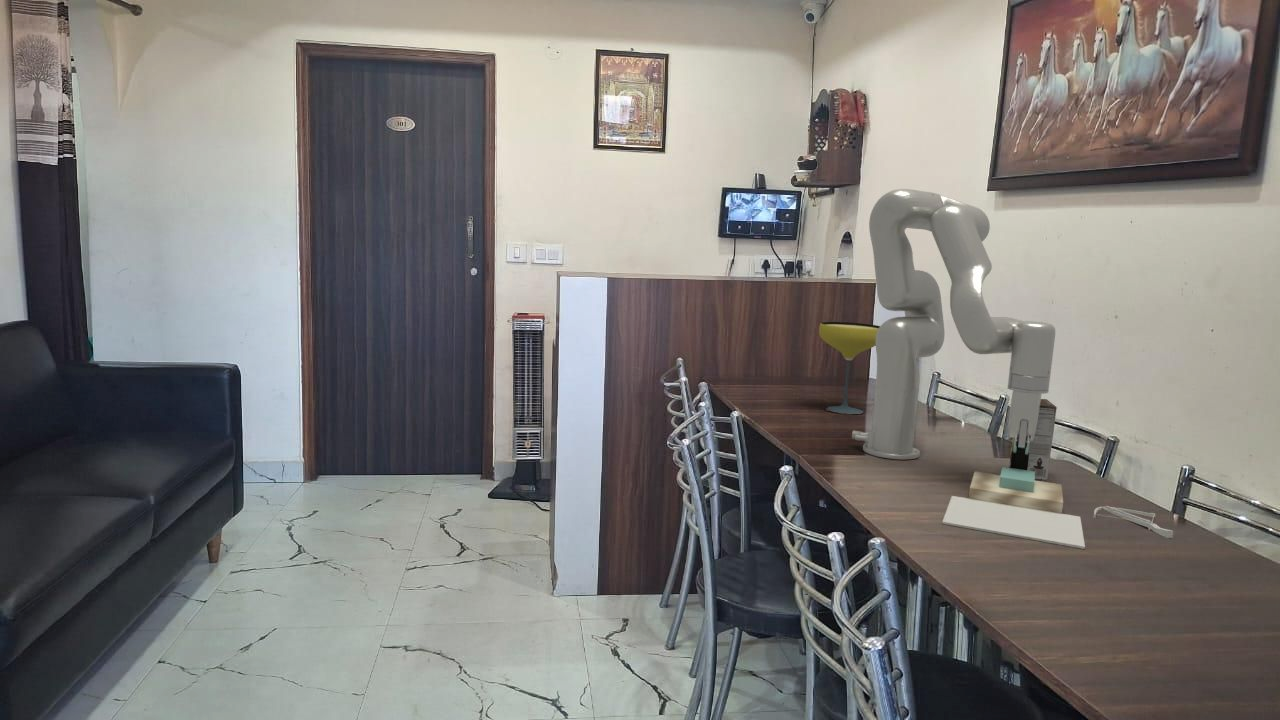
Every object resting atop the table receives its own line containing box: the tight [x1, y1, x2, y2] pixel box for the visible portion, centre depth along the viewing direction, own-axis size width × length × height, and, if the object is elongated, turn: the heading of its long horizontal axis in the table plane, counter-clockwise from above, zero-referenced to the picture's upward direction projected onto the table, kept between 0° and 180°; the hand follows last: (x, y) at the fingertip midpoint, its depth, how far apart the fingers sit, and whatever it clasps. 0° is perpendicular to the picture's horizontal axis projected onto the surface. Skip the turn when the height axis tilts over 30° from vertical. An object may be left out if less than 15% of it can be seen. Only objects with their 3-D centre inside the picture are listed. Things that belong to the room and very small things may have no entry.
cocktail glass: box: [818, 321, 881, 415], centre depth 244 cm, size 18×18×25 cm
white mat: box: [941, 495, 1086, 550], centre depth 150 cm, size 22×18×1 cm
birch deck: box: [968, 471, 1064, 514], centre depth 165 cm, size 16×14×2 cm
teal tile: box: [999, 466, 1036, 492], centre depth 166 cm, size 6×9×2 cm, turn 155°
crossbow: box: [1093, 505, 1174, 539], centre depth 154 cm, size 16×13×2 cm
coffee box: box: [1008, 398, 1058, 481], centre depth 184 cm, size 9×6×16 cm
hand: (1018, 471), depth 173 cm, fingers closed
